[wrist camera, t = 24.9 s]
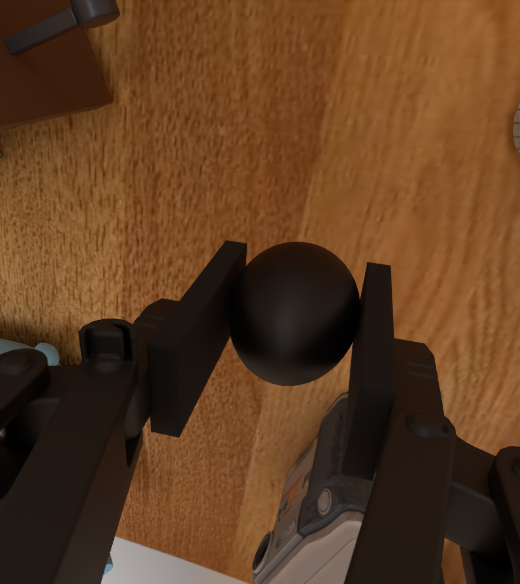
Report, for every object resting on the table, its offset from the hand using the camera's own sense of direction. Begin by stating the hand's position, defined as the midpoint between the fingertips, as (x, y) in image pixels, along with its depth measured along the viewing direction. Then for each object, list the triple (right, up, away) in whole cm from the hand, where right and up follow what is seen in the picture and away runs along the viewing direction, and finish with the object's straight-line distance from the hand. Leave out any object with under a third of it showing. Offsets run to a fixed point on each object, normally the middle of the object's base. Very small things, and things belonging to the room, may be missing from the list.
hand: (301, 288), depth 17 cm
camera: (+4, -11, +18) cm, 22 cm away
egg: (0, 0, 0) cm, 1 cm away
